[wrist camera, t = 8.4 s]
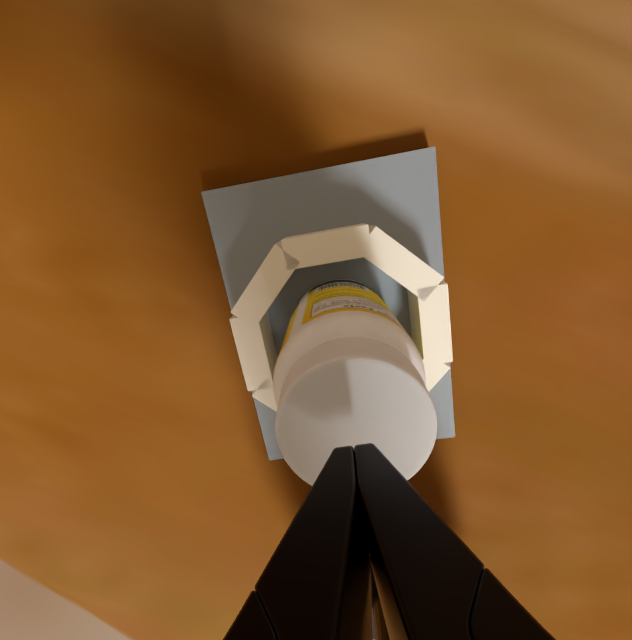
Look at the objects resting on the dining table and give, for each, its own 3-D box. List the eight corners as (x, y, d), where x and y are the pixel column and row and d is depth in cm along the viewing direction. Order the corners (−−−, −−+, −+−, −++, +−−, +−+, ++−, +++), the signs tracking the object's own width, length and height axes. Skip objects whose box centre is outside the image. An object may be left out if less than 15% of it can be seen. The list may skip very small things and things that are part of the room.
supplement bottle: (337, 389, 17) (345, 540, 9) (270, 324, 16) (216, 429, 8) (411, 328, 16) (494, 437, 8) (344, 255, 15) (364, 297, 7)
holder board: (449, 427, 19) (470, 463, 16) (271, 450, 19) (262, 488, 17) (429, 150, 15) (452, 135, 12) (207, 193, 15) (181, 188, 13)
